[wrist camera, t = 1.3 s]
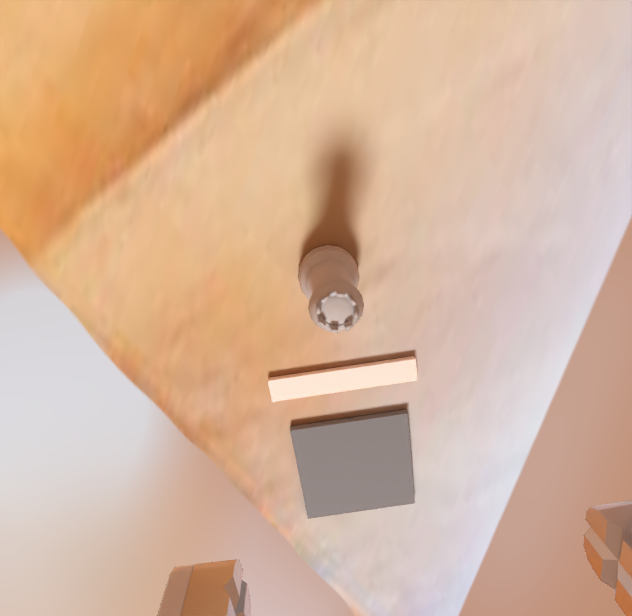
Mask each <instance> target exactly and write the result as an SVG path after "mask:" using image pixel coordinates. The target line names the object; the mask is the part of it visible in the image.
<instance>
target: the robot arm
mask: <svg viewBox="0 0 632 616" xmlns="http://www.w3.org/2000/svg"><path fill="white" fill-rule="evenodd" d="M586 521H587V522H588V524H589V525H590V526H591V527H590V528H589V529H588V531H587V532H586V533H585V534H584V549H585V552H586V556H587V559H588V561H589V563H590V565H591V567H592V569H593V570H594V572H595V573H596V575H597V576H598V578H599V579H600V580H601V581H602V582H604V583H606V584H607V585H609V586H610V587H612V588H613V589H615V601H616V603H617V604H618V605H619V607H620V608H621V610H622V611H623V612H624V614H625V615H626V616H632V501H624V502H618V503H612V504H606V505H600V506H594V507H590V508H589V509H588V510H587V512H586ZM242 573H243V568H242V565H241V562H240V560H238V559H236V560H227V561H219V562H211V563H202V564H194V565H187V566H179V567H174V569H173V570H172V572H171V573H170V575H169V579H168V582H167V585H166V588H165V591H164V595H163V598H162V601H161V604H160V608H159V611H158V614H157V616H251V614H250V613H251V609H250V595H249V590H248V586H247V583H245V582H244V581H243V580H242Z"/></svg>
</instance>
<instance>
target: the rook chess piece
mask: <svg viewBox="0 0 632 616" xmlns="http://www.w3.org/2000/svg"><path fill="white" fill-rule="evenodd" d="M298 279H299V282H300V286H301V289H302V292H303V293H304V294H305V295H306V297H307V298H308V299H309V300H310V301H309V308H308V309H309V313H310V316H311V319H312V320H313V321H314V322H315V324H316V325H317V326H318V327H320V328H322V329H324V330H326V331H330V332H334V333H338V332H340V331H344V330H346V331H347V330H349V329H350V328H352V327H353V325H355V324H356V323H357V322H358V320H359V319H360V317H361V316H362V312H363V307H364V303H363V299H362V295H361V294H360V292H359V291H358V290H357V287H358V281H359V272H358V268H357V263H356V261H355V260H354V258H353V257H352V256H351V254H350V253H349V252H347V251H346V250H344V249H342V248H341V247H338V246H330V245H325V246H322V247H318V248H315V249H313V250H312V251H311V252H309V253H308V254H307V255H306V256H305V257H304V259H303V261H302V262H301V264H300V266H299V273H298Z"/></svg>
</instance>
